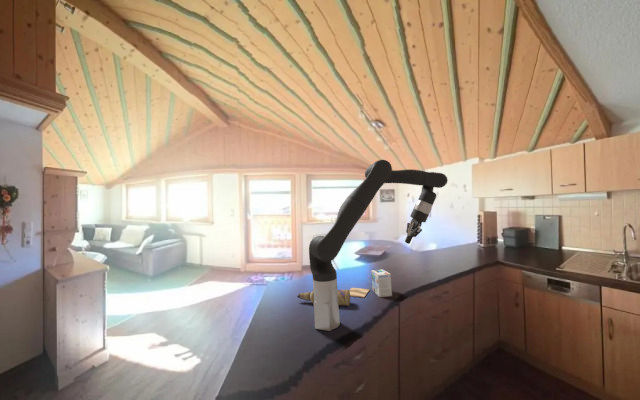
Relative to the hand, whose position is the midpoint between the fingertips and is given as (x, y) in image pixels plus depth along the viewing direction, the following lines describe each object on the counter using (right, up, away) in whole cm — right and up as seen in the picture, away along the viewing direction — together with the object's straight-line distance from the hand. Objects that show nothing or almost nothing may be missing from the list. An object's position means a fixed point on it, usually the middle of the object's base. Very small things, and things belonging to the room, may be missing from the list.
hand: (406, 242), depth 117 cm
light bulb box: (-12, -26, +3) cm, 29 cm away
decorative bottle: (-41, -28, -6) cm, 50 cm away
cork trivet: (-24, -27, +5) cm, 36 cm away
